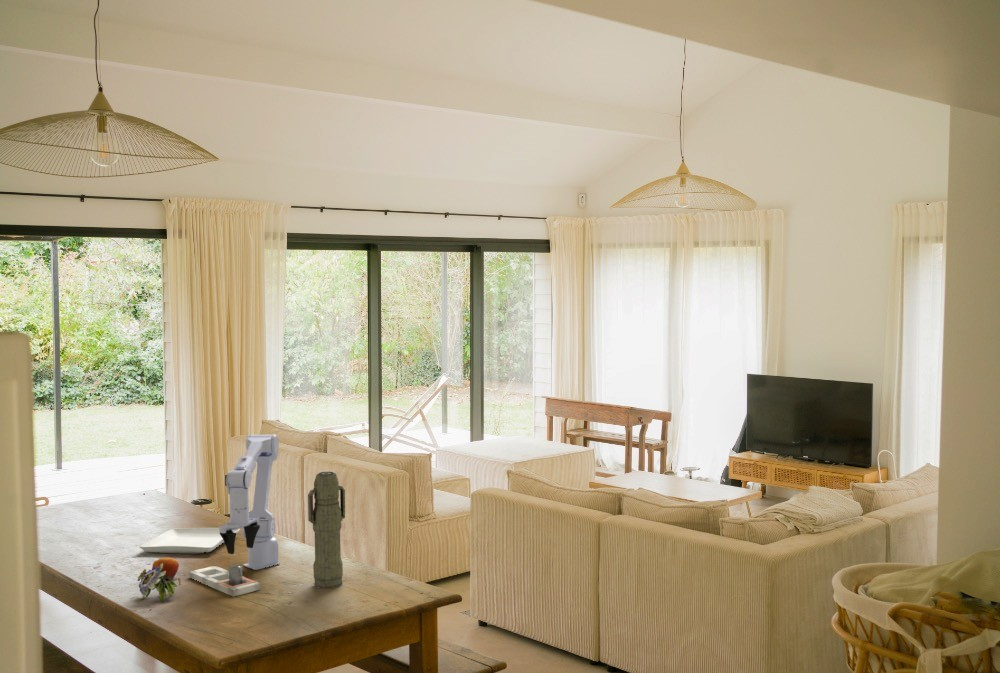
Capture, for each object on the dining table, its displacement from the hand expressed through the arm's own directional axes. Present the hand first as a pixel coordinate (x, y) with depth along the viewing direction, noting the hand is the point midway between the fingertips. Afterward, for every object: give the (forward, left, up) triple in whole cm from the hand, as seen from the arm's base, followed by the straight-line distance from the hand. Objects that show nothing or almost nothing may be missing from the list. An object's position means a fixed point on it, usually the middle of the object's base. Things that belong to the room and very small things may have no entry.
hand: (240, 550), depth 291 cm
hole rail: (+5, -3, -10) cm, 11 cm away
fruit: (+15, -22, -10) cm, 28 cm away
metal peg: (+5, +5, -10) cm, 12 cm away
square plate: (-10, -54, -11) cm, 56 cm away
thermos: (-17, +22, -10) cm, 30 cm away
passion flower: (+25, -6, -10) cm, 27 cm away
